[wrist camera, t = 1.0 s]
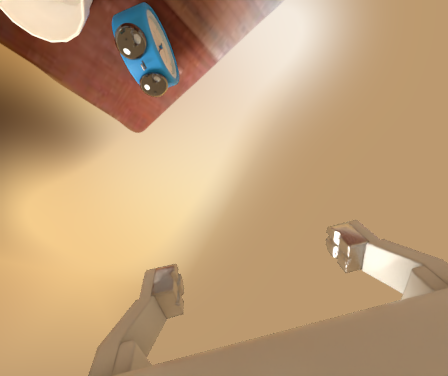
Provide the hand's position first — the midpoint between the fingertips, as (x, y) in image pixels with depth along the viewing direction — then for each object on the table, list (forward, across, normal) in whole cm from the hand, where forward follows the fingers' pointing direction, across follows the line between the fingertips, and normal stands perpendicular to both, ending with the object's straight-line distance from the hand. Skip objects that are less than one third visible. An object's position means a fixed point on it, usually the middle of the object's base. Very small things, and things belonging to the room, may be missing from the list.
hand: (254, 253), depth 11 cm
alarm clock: (+47, +6, -16) cm, 50 cm away
